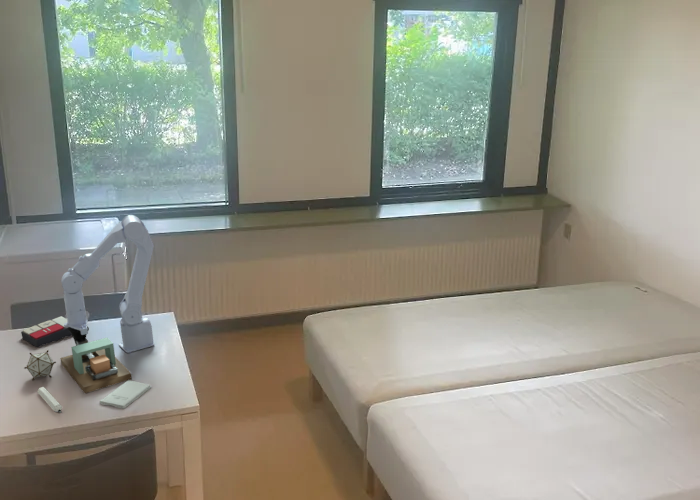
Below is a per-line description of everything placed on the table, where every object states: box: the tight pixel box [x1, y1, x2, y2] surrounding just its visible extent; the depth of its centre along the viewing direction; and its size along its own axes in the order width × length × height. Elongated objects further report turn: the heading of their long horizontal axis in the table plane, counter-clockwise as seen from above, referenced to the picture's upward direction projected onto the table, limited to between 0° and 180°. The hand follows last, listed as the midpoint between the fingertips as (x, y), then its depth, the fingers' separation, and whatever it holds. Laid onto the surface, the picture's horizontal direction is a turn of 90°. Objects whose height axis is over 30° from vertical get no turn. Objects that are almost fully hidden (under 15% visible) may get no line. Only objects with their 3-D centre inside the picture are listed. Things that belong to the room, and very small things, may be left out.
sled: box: [76, 337, 118, 381], centre depth 209 cm, size 7×22×4 cm, turn 38°
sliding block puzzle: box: [20, 315, 72, 348], centre depth 234 cm, size 11×4×15 cm
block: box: [90, 354, 111, 374], centre depth 204 cm, size 4×4×4 cm
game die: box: [23, 349, 57, 381], centre depth 205 cm, size 9×8×10 cm
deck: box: [60, 349, 133, 394], centre depth 209 cm, size 14×24×2 cm, turn 38°
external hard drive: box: [99, 380, 152, 409], centre depth 195 cm, size 2×8×12 cm
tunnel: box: [71, 337, 116, 374], centre depth 208 cm, size 11×6×7 cm, turn 128°
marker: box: [37, 386, 63, 414], centre depth 191 cm, size 3×2×16 cm
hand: (81, 347), depth 219 cm, fingers closed
